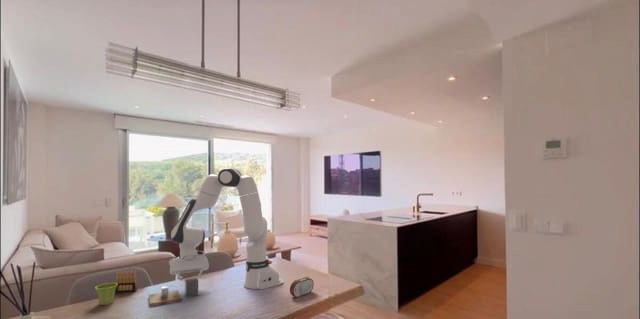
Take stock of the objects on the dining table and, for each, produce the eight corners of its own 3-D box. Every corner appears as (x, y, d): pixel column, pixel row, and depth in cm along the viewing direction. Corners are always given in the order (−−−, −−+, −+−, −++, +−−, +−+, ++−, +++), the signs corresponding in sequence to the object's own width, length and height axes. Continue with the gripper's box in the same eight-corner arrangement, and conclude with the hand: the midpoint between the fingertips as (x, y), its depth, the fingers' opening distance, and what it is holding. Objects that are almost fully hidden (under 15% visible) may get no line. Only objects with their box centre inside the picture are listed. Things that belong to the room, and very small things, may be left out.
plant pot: (92, 303, 163) (93, 286, 164) (114, 298, 170) (114, 281, 171) (97, 308, 157) (98, 290, 158) (119, 302, 164) (120, 285, 164)
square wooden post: (167, 294, 170) (167, 286, 170) (168, 296, 167) (168, 287, 168) (161, 296, 169) (161, 287, 169) (161, 297, 166) (161, 288, 166)
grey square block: (196, 291, 179) (196, 277, 179) (198, 295, 173) (198, 280, 174) (184, 293, 176) (184, 279, 176) (186, 297, 171) (186, 282, 171)
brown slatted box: (136, 290, 182) (137, 268, 182) (135, 291, 180) (135, 269, 180) (116, 291, 180) (116, 269, 181) (114, 293, 178) (115, 270, 179)
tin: (310, 290, 179) (310, 275, 179) (314, 292, 176) (314, 276, 177) (289, 298, 168) (289, 281, 168) (293, 299, 166) (293, 282, 166)
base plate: (178, 292, 177) (178, 289, 178) (180, 301, 165) (180, 298, 165) (149, 297, 171) (149, 294, 171) (149, 306, 158) (149, 303, 159)
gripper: (169, 255, 180) (170, 278, 171) (207, 251, 190) (210, 272, 181) (168, 262, 184) (169, 284, 175) (206, 257, 194) (208, 278, 185)
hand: (190, 278), depth 178 cm, fingers open, 8 cm apart
